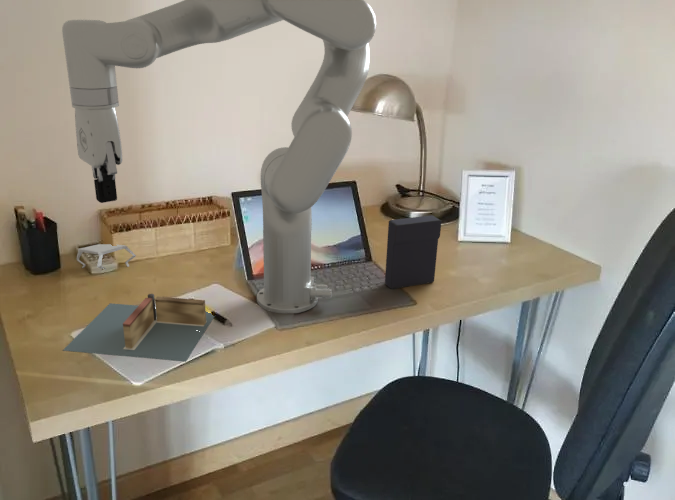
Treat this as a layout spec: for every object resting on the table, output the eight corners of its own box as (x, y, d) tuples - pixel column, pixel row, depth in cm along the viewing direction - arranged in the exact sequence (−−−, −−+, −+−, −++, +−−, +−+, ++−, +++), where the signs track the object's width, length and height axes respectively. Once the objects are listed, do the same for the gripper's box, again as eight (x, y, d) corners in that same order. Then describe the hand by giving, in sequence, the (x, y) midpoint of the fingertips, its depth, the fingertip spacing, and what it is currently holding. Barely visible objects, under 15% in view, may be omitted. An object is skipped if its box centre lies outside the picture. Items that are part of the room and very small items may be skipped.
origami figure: (84, 279, 134) (81, 259, 132) (77, 266, 141) (74, 246, 139) (140, 269, 140) (138, 249, 138) (130, 256, 147) (128, 237, 145)
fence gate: (147, 320, 117) (145, 297, 115) (154, 320, 117) (151, 298, 115) (125, 347, 108) (122, 323, 106) (132, 348, 107) (129, 324, 106)
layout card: (217, 313, 121) (217, 311, 121) (186, 363, 105) (185, 360, 105) (110, 305, 124) (109, 303, 123) (62, 352, 107) (62, 350, 107)
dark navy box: (425, 275, 141) (431, 213, 135) (435, 283, 137) (441, 220, 132) (382, 282, 137) (386, 218, 131) (391, 290, 133) (396, 225, 128)
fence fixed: (206, 322, 117) (204, 297, 115) (204, 325, 116) (202, 300, 114) (151, 317, 118) (149, 293, 116) (148, 320, 117) (146, 296, 115)
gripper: (58, 93, 108) (72, 193, 115) (86, 105, 97) (100, 215, 104) (101, 90, 112) (112, 187, 119) (133, 101, 102) (143, 207, 109)
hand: (107, 200), depth 112 cm, fingers closed
